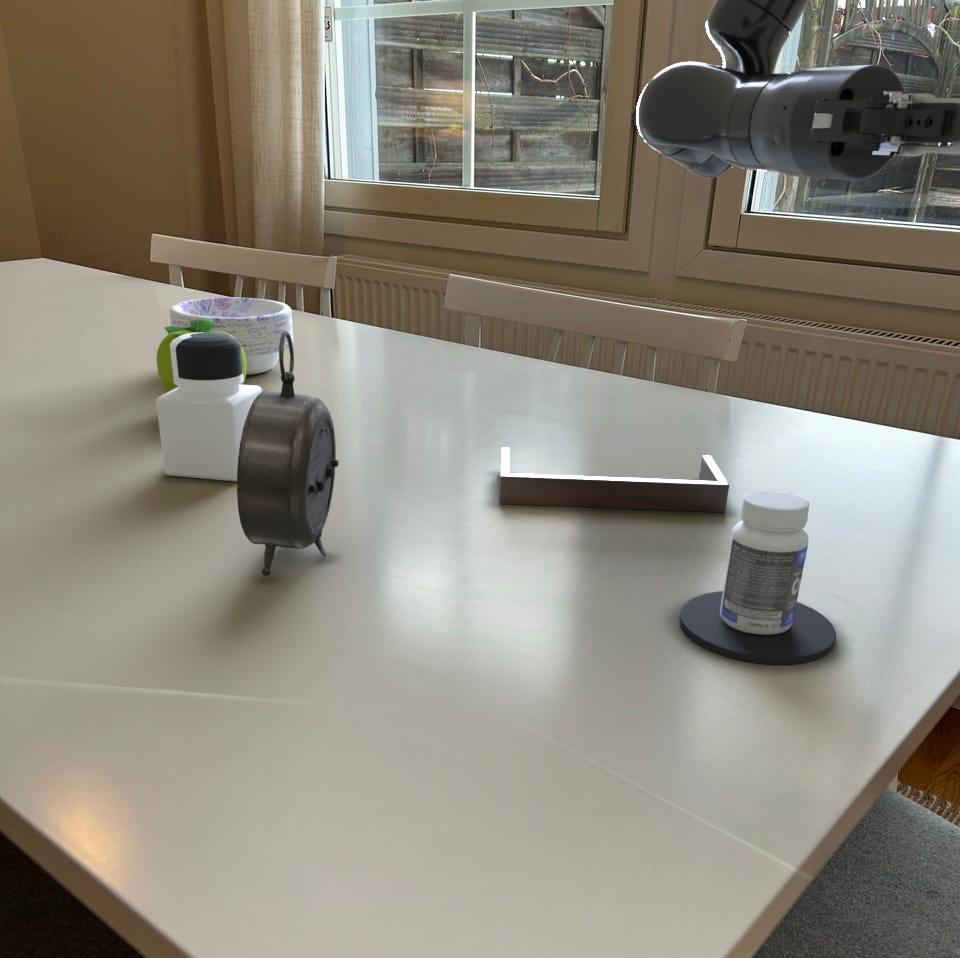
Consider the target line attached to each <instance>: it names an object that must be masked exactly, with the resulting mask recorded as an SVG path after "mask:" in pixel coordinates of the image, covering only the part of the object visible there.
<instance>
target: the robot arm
mask: <svg viewBox="0 0 960 958" xmlns="http://www.w3.org/2000/svg"><path fill="white" fill-rule="evenodd" d="M810 1H811V0H714V2H713V4H712V6H711V8H710V10H709V12H708V15H707V18H706V20H705V21H706V22H705V28H706V33H707V35H708V37H709V39H710V40H711V41H712V43H713V44H714V45H715V47H716V48H717V49H718V51H719V52H720V54H721V55H720V56H721V57H722V61H723V62H722V64H723V65H722V66H720V65H714V64H709V63H705V62H701V61H700V62H699V61H682V62H681V61H680V62H677V63H674V64H672V65H670V66H667V67H665V68H664V69H662V70H660V71H658V72H657V73H656V74H655V75H654V76H653V77H651V79H650V80H649V82H648V83H647V84H646V86H645V87H644V89H643V90H642V93H641V94H640V96H639V99H638V102H637V105H636V126H637V129H638V132H639V135H640V136H641V138H642V139H643V141H644V142H645V143H646V144H647V145H648V146H649V147H651V148H652V149H653V150H655V151H657V152H658V153H660V154H662V156H664V157H666V158H667V159H669V160H670V161H672V162H674V163H675V164H677V165H678V166H680V167H682V168H683V169H685V170H686V171H688V172H690V173H691V174H692V175H694V176H696V177H699V178H702V179H705V180H706V179H715V178H718V177H720V176H722V175H724V174H725V173H726V172H728V171H729V170H731V169H732V168H733V167H736V168H738V169H743V170H748V171H749V170H750V171H764V172H774V173H779V174H783V175H786V176H790V177H795V178H810V179H823V180H835V181H836V180H837V181H838V180H839V181H849V182H851V181H852V182H858V181H859V182H861V181H865V180H867V179H869V178H871V177H873V176H875V175H877V174H878V173H879V172H881V171H882V170H883V169H884V168H885V167H886V166H887V165H888V164H889V162H890V161H891V160H892V159H893V157H894V155H895V156H898V157H920V156H922V155H923V154H946V155H947V154H948V155H949V154H950V155H960V97H935V95H933V94H931V93H925V92H923V93H919V92H916V93H914V92H913V93H912V92H911V93H906V91H905V89H904V86H903V83H902V81H901V80H900V77H898V75H897V74H896V73H895V72H894V71H893V70H891V68H889V67H886V66H885V65H880V64H859V65H858V64H857V65H842V66H839V65H837V66H824V67H807V68H804V69H798V70H795V71H791V72H776V73H775V70H776V68H777V67H776V66H777V64H778V61H779V58H780V54H781V52H782V50H783V47H784V46H785V44H786V42H787V41H788V39H789V37H790V35H791V34H792V32H793V30H794V29H795V27H796V25H797V23H798V22H799V20H800V18H801V17H802V15H803V13H804V11H805V10H806V7H807V6H808V5H809V2H810Z"/></svg>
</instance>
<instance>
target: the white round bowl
mask: <svg viewBox="0 0 960 958" xmlns="http://www.w3.org/2000/svg"><path fill="white" fill-rule="evenodd" d="M292 314H293V311H292V308H291V307H290V306H289V305H288V304H286V303H284V302H281V301H276V300H271V299H265V298H255V297H236V296H235V297H233V296H232V297H231V296H230V297H206V298H196V299H189V300H184V301H180V302H177V303H174V304H173V305H171V307H170V308H169V319H170V326H184V327H192V325H191V324H190V321H191V320H196V319H208V320H212V321H214V326H213V328H212V329H210V330H212V331H217V332H219V331H221V332H227V333H229V334H231V335H232V336H233V337H234V338H236V339H237V340H238V341H239V342H240V344H241V347H242V349H243V351H244V354H245V357H246V364H247V368H246V376H251V375H257V374H262V373H265V372H269V371H270V370H272V369H273V368H274V367H275V366H276V365H277V364H278V362H279V343H280V338H281V335H282V332H283V331H287V332H289V334H290V336H291V339H292V343H293V344H294V332H293V327H294V326H293V318H292ZM286 350H289V345H288V340H287V338H286V337H285V341H284V351H286Z"/></svg>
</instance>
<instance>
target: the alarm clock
mask: <svg viewBox="0 0 960 958" xmlns="http://www.w3.org/2000/svg"><path fill="white" fill-rule="evenodd" d="M285 337H286V338H287V340H288V345H289V348H288V351H289V370H288V371H286V370H285V364H284V363H285V362H284V351H285V350H284V341H285ZM294 352H295V351H294V342H293V343H292V339H291V336H290V334H289V332H287V331H283V332H282V335H281V338H280V343H279V358H278V363H279V367H280V368H279V369H280V380H281V383H282V384H281V390H280V391H274V390H269V389H265V390H262V392H261V393H260V394H259V395H258V396H257V397H256V398H255V400H254V401H253V403H252V405H251V407H250V409H249V412H248V414H247V417H246V420H245V423H244V427H243V430H242V431H243V432H242V435H241V442H240V448H239V456H238V467H237V481H236V499H237V511H238V517H239V523H240V527H241V528H242V531H243V534H244V535H245V537H246V538H247V540H248V541H249V542H250V543H251V544H253V545H265V546H264V547H265V548H264V553H263V554H264V555H263V562H264V563H263V568H261V569H262V570H261V574H262V576H264V577H265V576H266V577H268V576H269V575H271V571H272V570H271V566H272V562H273V560H274V556H275V552H276V549H277V547H280V548H288V549H296V550H303V549H307V548H309V547H310V546H311V545H313V544H315V546H316V547H317V549H318V551H319V553H320V554H321V555H322V556H323V557H327V552H326V550H325V549H324V546H323V543H322V540H321V538H322V535H323V529H324V528H325V525H326V522H327V519H328V515H329V512H330V509H331V504H332V498H333V493H334V492H333V491H334V486H335V485H334V484H335V477H336V468H337V467H339V460H338V459H337V457H336V456H337V455H336V454H337V448H336V447H337V445H336V432H335V427H334V426H335V425H334V421H333V417H332V415H331V411H330V410H329V407H328V406H327V405H326V403H325V402H324V401H323V400H321V398H320V397H317V396H315V395H308V394H302V393H301V394H299V393H295V388H294V387H295V386H294V382H295V381H296V379H295V378H296V377H295V374H293V373H294V368H295V353H294Z"/></svg>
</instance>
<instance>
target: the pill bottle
mask: <svg viewBox="0 0 960 958" xmlns="http://www.w3.org/2000/svg"><path fill="white" fill-rule="evenodd" d="M809 509H810V502H809V501H808V500H807V499H806V498H805V497H803V496H800V495H798V494H795V493H791V492H787V491H781V490H780V491H779V490H768V489H767V490H765V489H763V490H754V491H750V492H747V493H746V494H745V495H744V496H743V500H742V505H741V511H740V519H741V520H740V521H739V522H738V523H737V524H735V525H734V526H733V529H732V531H731V535H730V536H731V537H730V541H729V542H730V544H729V549H728V557H727V563H726V570H725V577H724V582H723V589H722V591H723V594H722V598H721V607H720V616H721V618H722V620H723V621H724V622H725V623H726V624H727V625H728V626H730V627H732V628H734V629H736V630H739V631H742V632H746V633H750V634H759V635H774V634H779V633H783V632H785V631H787V630H788V629H789V628H790V627H791V625H792V623H793V619H794V614H795V609H796V603H797V602H798V598H799V593H800V587H801V583H802V577H803V572H804V568H805V563H806V557H807V554H808V548H809V535H808V533H807V532H806V530H805V529H804V528H805V527H806V526H807V522H808V517H809V511H810V510H809Z"/></svg>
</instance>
